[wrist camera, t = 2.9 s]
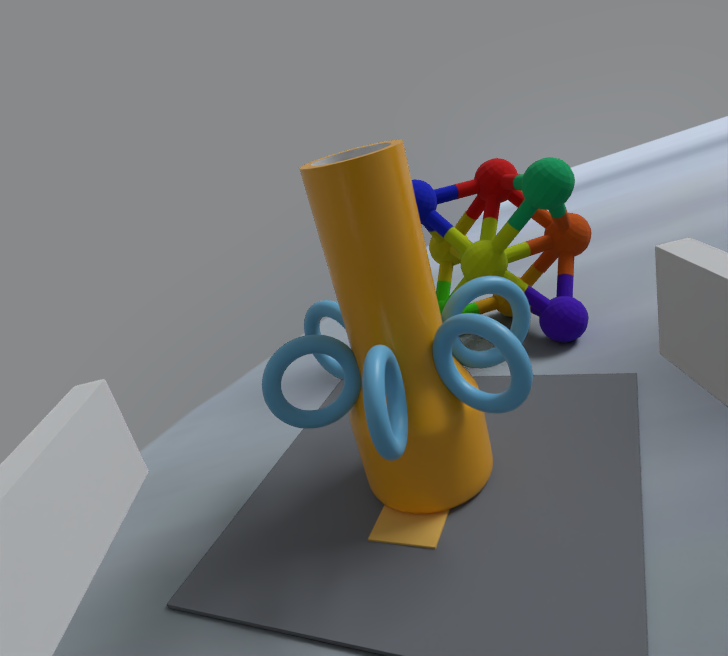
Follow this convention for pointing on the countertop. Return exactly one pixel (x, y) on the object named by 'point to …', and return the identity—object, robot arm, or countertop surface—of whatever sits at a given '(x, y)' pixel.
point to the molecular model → (511, 239)
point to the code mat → (451, 540)
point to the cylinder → (400, 339)
